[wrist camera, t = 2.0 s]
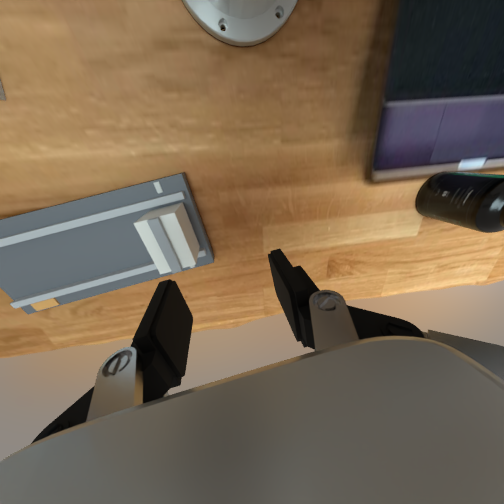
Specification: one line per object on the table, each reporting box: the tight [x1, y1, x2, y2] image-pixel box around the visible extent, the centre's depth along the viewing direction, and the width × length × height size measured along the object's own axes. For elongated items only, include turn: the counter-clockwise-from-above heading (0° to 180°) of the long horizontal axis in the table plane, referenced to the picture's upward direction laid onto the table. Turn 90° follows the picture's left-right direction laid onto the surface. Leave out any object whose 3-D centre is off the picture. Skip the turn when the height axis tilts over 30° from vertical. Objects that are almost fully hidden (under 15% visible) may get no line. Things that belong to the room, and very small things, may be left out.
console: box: [0, 173, 214, 314], centre depth 25 cm, size 26×12×3 cm, turn 103°
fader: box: [133, 202, 200, 275], centre depth 22 cm, size 4×6×6 cm, turn 13°
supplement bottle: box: [416, 172, 504, 233], centre depth 26 cm, size 7×7×12 cm
